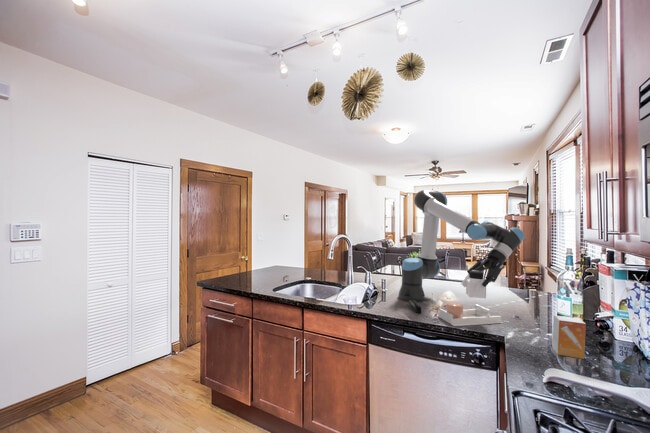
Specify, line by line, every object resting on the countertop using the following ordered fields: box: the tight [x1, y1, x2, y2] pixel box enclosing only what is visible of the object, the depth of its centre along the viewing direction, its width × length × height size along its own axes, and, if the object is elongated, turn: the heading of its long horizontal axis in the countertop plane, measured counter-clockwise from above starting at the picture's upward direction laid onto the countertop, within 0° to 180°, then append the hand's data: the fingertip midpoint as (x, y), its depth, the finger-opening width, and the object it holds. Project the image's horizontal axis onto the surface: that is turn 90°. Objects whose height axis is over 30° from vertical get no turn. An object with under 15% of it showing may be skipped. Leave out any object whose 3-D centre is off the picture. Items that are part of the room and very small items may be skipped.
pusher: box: [474, 303, 491, 317], centre depth 147 cm, size 8×4×5 cm, turn 13°
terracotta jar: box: [446, 302, 464, 319], centre depth 143 cm, size 7×7×7 cm
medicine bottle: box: [465, 270, 487, 299], centre depth 145 cm, size 7×7×12 cm
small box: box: [551, 314, 587, 360], centre depth 113 cm, size 8×6×13 cm
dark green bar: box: [407, 299, 422, 315], centre depth 158 cm, size 5×3×15 cm
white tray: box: [436, 308, 504, 327], centre depth 145 cm, size 14×26×5 cm, turn 103°
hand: (469, 287), depth 145 cm, fingers closed on medicine bottle, 9 cm apart
